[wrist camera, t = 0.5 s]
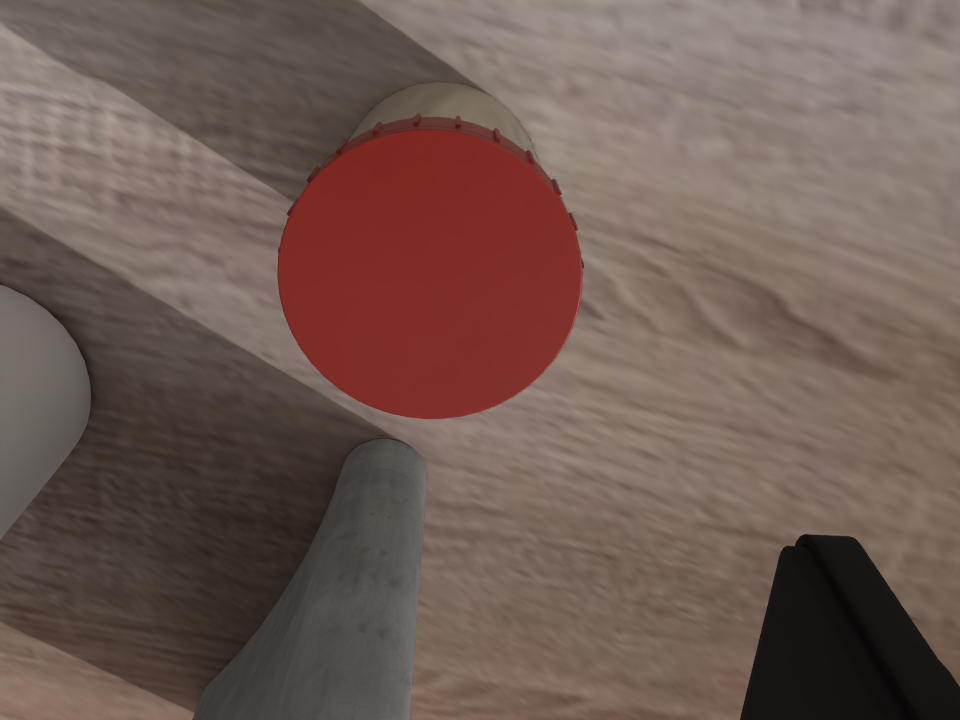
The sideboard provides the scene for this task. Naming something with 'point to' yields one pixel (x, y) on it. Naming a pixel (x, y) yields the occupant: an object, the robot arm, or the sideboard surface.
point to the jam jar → (448, 110)
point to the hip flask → (341, 607)
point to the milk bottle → (36, 401)
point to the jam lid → (430, 268)
